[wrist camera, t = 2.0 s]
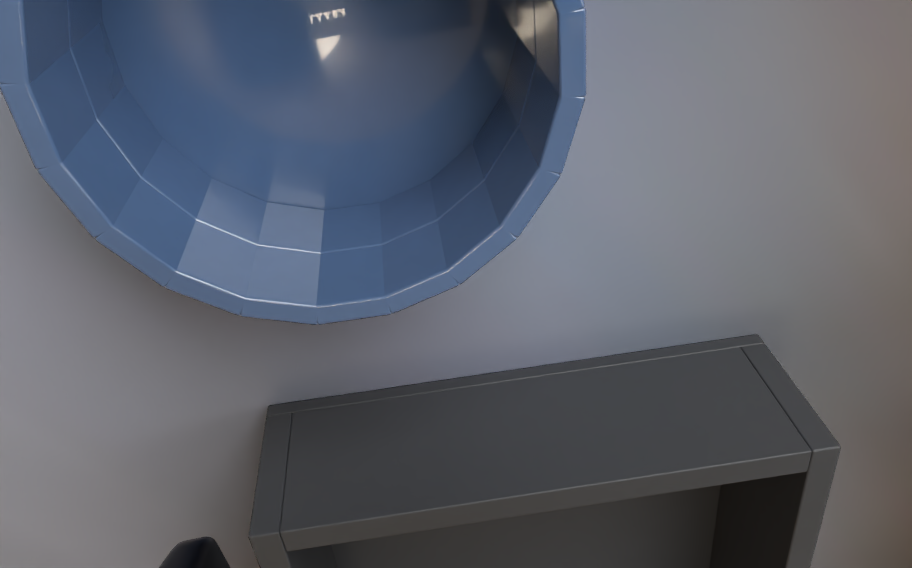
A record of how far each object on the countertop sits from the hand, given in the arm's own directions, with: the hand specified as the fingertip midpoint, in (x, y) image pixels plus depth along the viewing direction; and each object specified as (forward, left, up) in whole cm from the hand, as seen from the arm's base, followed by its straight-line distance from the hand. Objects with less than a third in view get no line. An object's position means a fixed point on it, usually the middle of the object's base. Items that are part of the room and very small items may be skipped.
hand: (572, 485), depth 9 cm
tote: (-1, +16, -12) cm, 20 cm away
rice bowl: (+3, -3, -12) cm, 13 cm away
